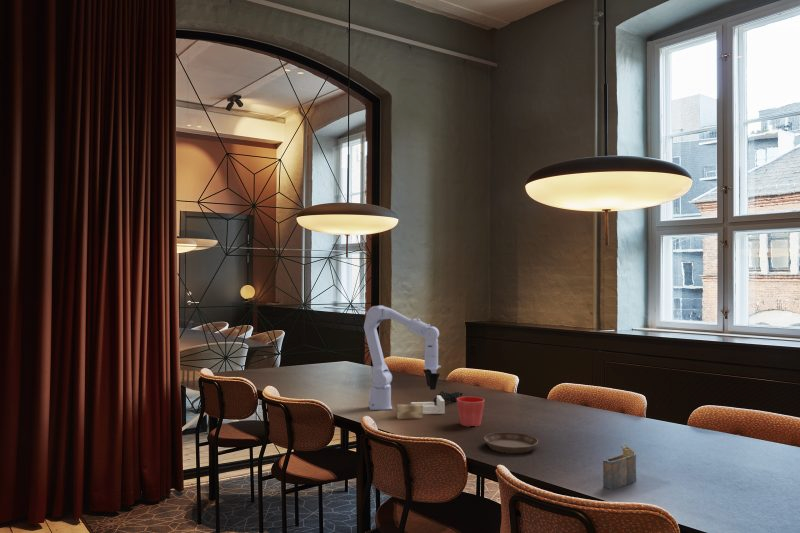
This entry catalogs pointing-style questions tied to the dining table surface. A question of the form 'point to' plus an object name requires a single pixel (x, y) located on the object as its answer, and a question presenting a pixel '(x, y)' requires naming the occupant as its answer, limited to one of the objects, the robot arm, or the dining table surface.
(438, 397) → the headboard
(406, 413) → the tan block
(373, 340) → the robot arm
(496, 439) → the plant saucer
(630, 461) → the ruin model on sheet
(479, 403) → the flower pot
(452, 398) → the decorative element
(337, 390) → the dining table surface
